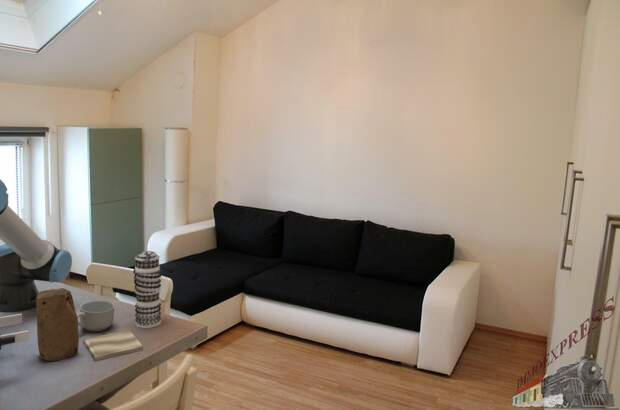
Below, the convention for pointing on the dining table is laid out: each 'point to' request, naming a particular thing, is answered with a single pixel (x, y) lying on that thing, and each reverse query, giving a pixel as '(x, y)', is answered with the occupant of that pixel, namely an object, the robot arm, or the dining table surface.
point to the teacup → (96, 315)
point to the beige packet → (112, 345)
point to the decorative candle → (147, 289)
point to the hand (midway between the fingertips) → (25, 326)
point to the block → (56, 324)
